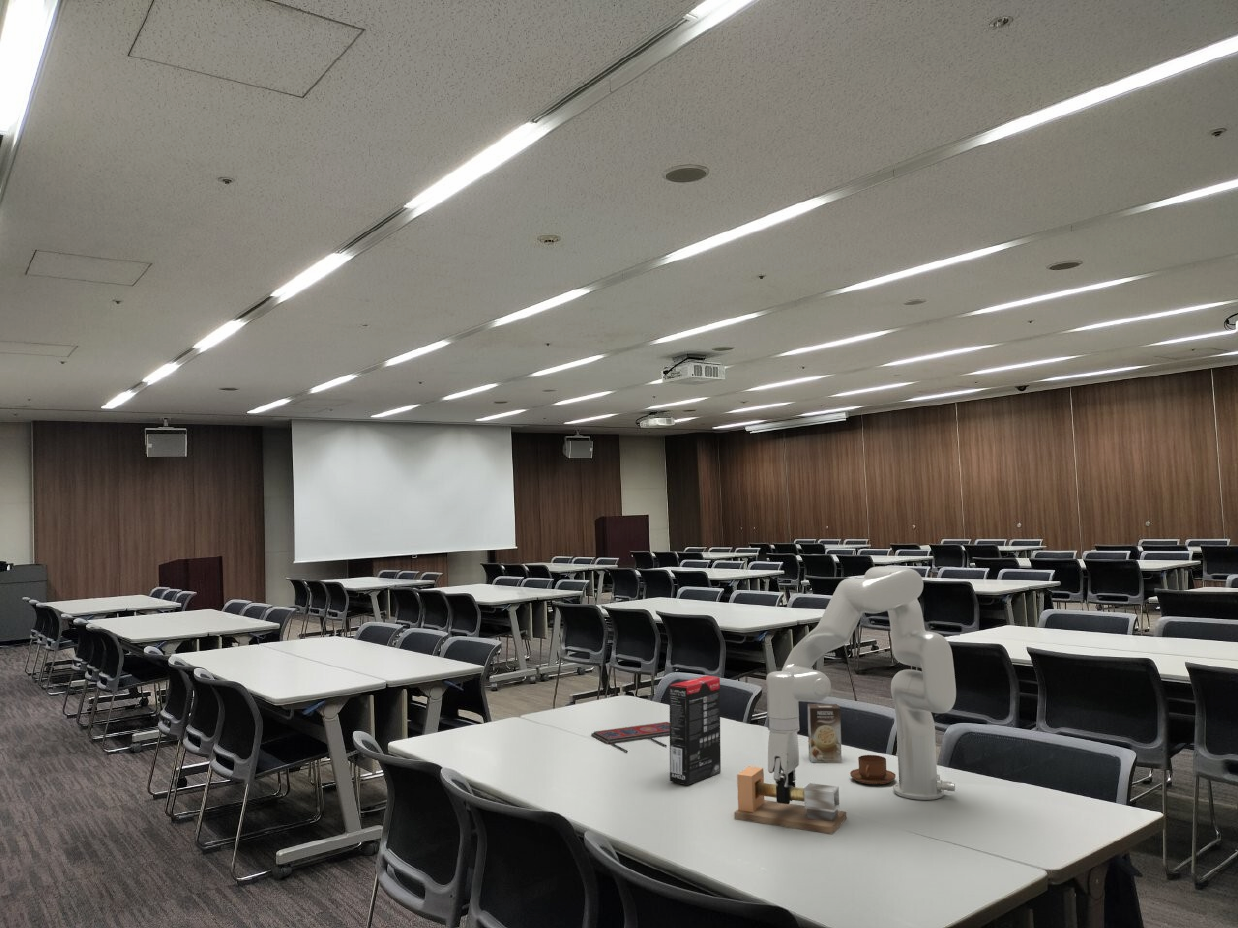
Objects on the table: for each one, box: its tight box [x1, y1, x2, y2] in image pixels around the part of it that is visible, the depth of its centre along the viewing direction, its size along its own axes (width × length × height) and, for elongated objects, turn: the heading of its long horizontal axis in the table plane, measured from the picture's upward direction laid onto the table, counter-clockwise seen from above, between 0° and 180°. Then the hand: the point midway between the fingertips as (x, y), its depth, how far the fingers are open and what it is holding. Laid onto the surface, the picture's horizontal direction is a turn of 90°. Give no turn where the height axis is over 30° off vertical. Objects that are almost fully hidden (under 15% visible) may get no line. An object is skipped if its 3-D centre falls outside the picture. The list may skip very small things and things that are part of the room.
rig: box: [733, 782, 847, 835], centre depth 210 cm, size 24×12×8 cm, turn 60°
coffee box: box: [807, 703, 843, 764], centre depth 261 cm, size 9×6×16 cm
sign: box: [590, 721, 670, 753], centre depth 291 cm, size 27×2×30 cm
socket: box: [736, 765, 765, 812], centre depth 215 cm, size 4×8×8 cm, turn 150°
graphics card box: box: [668, 675, 722, 786], centre depth 246 cm, size 17×7×27 cm, turn 141°
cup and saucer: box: [849, 754, 897, 785], centre depth 238 cm, size 12×12×6 cm
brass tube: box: [755, 782, 805, 803], centre depth 210 cm, size 16×4×4 cm, turn 60°
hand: (786, 799), depth 210 cm, fingers closed on brass tube, 3 cm apart
